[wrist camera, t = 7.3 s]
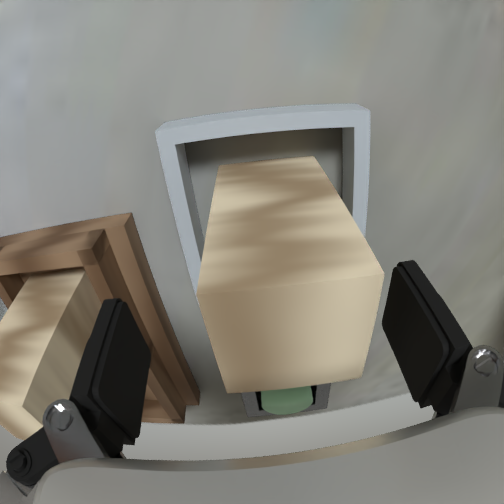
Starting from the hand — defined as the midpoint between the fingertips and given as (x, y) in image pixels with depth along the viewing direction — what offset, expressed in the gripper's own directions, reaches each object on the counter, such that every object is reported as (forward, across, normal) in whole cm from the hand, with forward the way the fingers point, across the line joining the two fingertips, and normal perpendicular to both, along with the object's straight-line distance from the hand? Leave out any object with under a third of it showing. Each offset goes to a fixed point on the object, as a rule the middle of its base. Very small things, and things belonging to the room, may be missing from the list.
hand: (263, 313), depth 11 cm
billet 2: (+8, -1, 0) cm, 8 cm away
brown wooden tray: (+9, +13, +9) cm, 18 cm away
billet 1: (+7, +13, +5) cm, 16 cm away
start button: (+8, -1, +15) cm, 17 cm away
